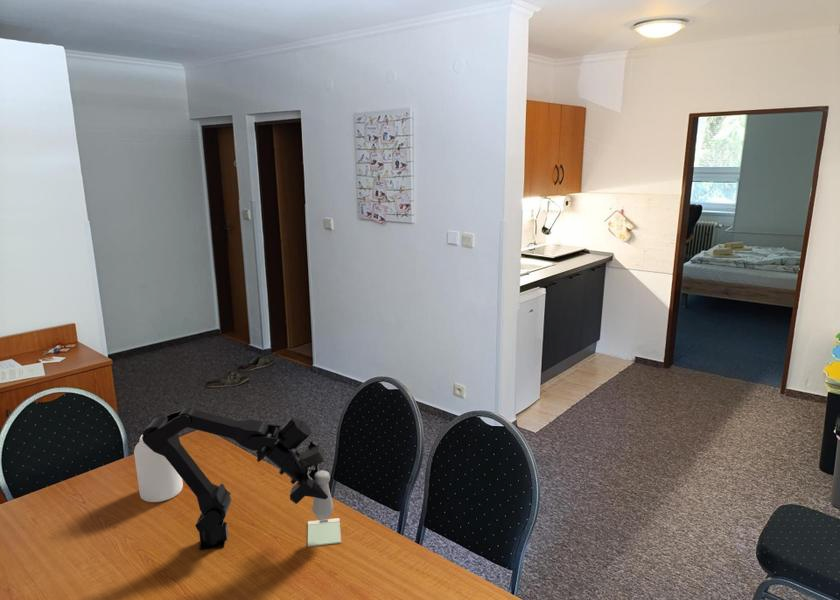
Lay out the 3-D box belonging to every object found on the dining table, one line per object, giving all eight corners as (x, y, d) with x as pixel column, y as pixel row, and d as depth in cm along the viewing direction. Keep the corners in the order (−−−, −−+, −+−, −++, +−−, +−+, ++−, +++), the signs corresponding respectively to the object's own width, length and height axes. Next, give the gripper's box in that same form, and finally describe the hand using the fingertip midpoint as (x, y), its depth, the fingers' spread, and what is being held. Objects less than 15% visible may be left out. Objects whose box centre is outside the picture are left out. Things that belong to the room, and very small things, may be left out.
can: (191, 488, 183) (185, 431, 178) (155, 508, 173) (147, 448, 168) (167, 477, 189) (160, 421, 184) (131, 495, 179) (123, 437, 174)
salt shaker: (331, 522, 155) (330, 479, 152) (310, 521, 155) (309, 479, 152) (334, 509, 161) (333, 467, 158) (314, 508, 161) (313, 467, 158)
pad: (307, 546, 155) (307, 544, 155) (307, 522, 165) (307, 521, 165) (341, 542, 157) (341, 541, 157) (339, 519, 167) (339, 517, 167)
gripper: (301, 456, 143) (346, 494, 147) (309, 422, 161) (349, 457, 165) (270, 485, 145) (316, 522, 148) (282, 448, 163) (322, 482, 166)
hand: (327, 494), depth 157 cm, fingers closed on salt shaker, 3 cm apart
